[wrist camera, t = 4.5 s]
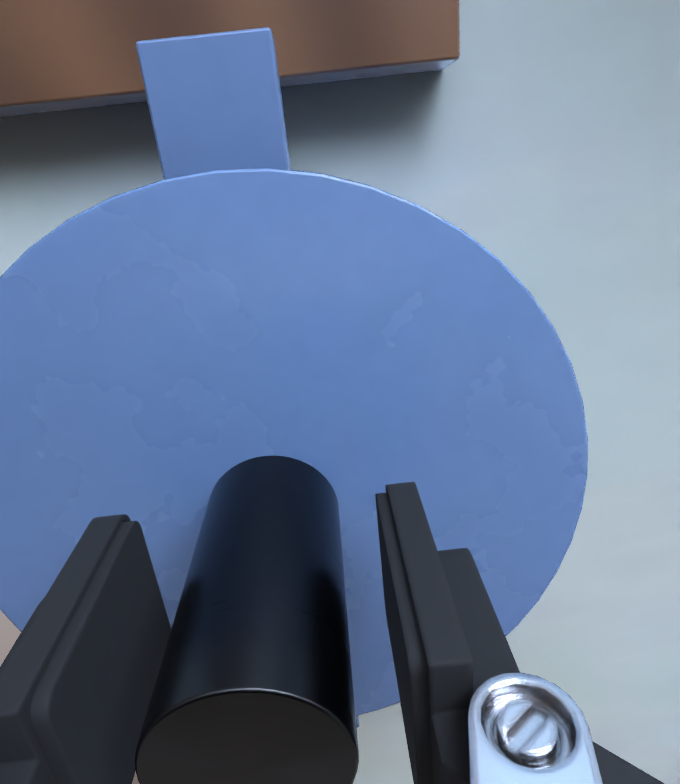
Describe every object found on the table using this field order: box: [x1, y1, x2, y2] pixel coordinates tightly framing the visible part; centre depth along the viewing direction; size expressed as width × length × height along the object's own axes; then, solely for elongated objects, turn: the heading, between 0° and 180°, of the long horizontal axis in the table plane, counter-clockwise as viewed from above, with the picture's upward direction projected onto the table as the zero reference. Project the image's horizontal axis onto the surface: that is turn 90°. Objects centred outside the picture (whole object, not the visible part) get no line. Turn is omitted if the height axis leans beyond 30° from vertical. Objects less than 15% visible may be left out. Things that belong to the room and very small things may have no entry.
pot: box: [136, 27, 359, 728], centre depth 16 cm, size 13×18×8 cm
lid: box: [0, 168, 588, 784], centre depth 10 cm, size 14×14×7 cm
